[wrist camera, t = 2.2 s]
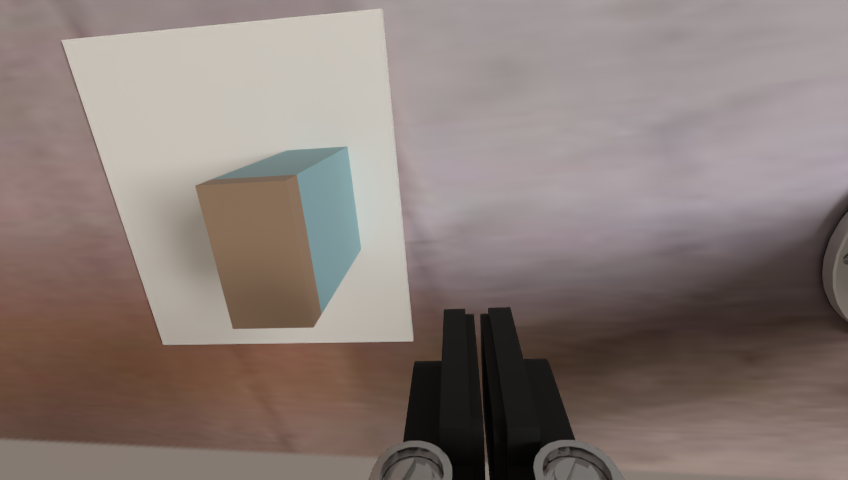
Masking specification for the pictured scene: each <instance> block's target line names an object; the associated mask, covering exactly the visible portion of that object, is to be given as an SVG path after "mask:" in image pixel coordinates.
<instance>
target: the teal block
mask: <svg viewBox="0 0 848 480" xmlns="http://www.w3.org/2000/svg"><path fill="white" fill-rule="evenodd" d="M195 187H196V191H197V195H198V199H199V202H200V206H201V210H202V214H203V218H204V221H205V225H206V229H207V233H208V237H209V240H210V244H211V248H212V252H213V256H214V259H215V263H216V267H217V271H218V275H219V278H220V282H221V286H222V290H223V294H224V297H225V301H226V305H227V309H228V312H229V316H230V320H231V324H232V328H233V329H263V328H314V326H315V324H316V323H317V321H318V320H319V318H320V316H321V315H322V313H323V311H324V310H325V308H326V306H327V305H328V303H329V301H330V300H331V298H332V296H333V295H334V293H335V292H336V290H337V288H338V287H339V285H340V283H341V282H342V280H343V278H344V277H345V275H346V273H347V272H348V270H349V268H350V267H351V265H352V264H353V262H354V260H355V259H356V257H357V255H358V254H359V252H360V250H361V244H360V236H359V229H358V221H357V214H356V206H355V199H354V191H353V184H352V176H351V169H350V161H349V154H348V146H346V147H331V148H315V149H300V150H286V151H284V152H281V153H279V154H276V155H273V156H271V157H268V158H266V159H263V160H260V161H258V162H255V163H253V164H250V165H247V166H245V167H242V168H240V169H237V170H234V171H232V172H229V173H227V174H224V175H221V176H219V177H216V178H214V179H211V180H208V181H206V182H203V183H201V184H198V185H195Z"/></svg>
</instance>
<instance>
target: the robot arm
mask: <svg viewBox="0 0 848 480" xmlns="http://www.w3.org/2000/svg"><path fill="white" fill-rule="evenodd" d="M822 277H823V284H824V290H825V293H826V295H827V297H828V300H829V302H830V304H831V305H832V307H833V308H834V309H835V310H836V312H837V313H838V314H839V315H840V316H841V317H842V318H843V319H845V320H846V321H847V322H848V212H847V213H846V214H845V216H844V217H843V218H842V219H841V221H840V222H839V224H838V226H837V227H836V229H835V231H834V233H833V235H832V237H831V238H830V240H829V243H828V246H827V249H826V253H825V256H824V261H823V271H822ZM480 324H481V356H482V388H483V410H484V422H485V433H486V444H487V455H488V465H489V476H490V480H625V479H624V477H623V476H622V474H621V472H620V470H619V469H618V467H617V466H616V465H615V464H614V462H613V461H612V460H611V459H610V457H608V456H607V455H606V454H604V453H603V452H602V451H601V450H599V449H598V448H596V447H593V446H591V445H589V444H587V443H584V442H580V441H575V438H574V435H573V432H572V429H571V426H570V423H569V420H568V417H567V414H566V412H565V409H564V406H563V403H562V400H561V397H560V394H559V391H558V388H557V385H556V382H555V379H554V376H553V373H552V370H551V367H550V365H549V362H548V360H547V359H523V356H522V352H521V348H520V344H519V340H518V336H517V332H516V328H515V325H514V321H513V317H512V313H511V309H510V307H506V308H488V314H480ZM369 480H485V455H484V429H483V415H482V403H481V392H480V381H479V369H478V358H477V346H476V335H475V324H474V314H465V309H444V322H443V347H442V361H415V363H414V368H413V375H412V383H411V390H410V397H409V404H408V411H407V418H406V426H405V433H404V440H403V443H399V444H396V445H395V446H393V447H391V448H389V449H387V450H386V451H385V452H384V453H383V454H382V455H381V456H380V457H379V458H378V460H377V462H376V463H375V465H374V467H373V469H372V472H371V475H370V477H369Z"/></svg>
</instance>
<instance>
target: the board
mask: <svg viewBox="0 0 848 480" xmlns="http://www.w3.org/2000/svg"><path fill="white" fill-rule="evenodd" d="M62 43H63V46H64V49H65V52H66V55H67V58H68V61H69V64H70V67H71V70H72V73H73V76H74V79H75V82H76V85H77V88H78V91H79V94H80V97H81V100H82V103H83V106H84V109H85V112H86V115H87V118H88V121H89V124H90V127H91V130H92V133H93V136H94V139H95V142H96V145H97V148H98V151H99V154H100V157H101V160H102V163H103V166H104V169H105V172H106V175H107V178H108V181H109V184H110V187H111V190H112V193H113V196H114V199H115V202H116V205H117V208H118V211H119V214H120V217H121V220H122V223H123V226H124V229H125V232H126V235H127V238H128V241H129V244H130V247H131V250H132V253H133V256H134V259H135V262H136V265H137V268H138V271H139V274H140V277H141V280H142V283H143V286H144V289H145V292H146V295H147V298H148V301H149V304H150V307H151V310H152V313H153V316H154V319H155V322H156V325H157V328H158V331H159V334H160V337H161V340H162V343H163V345H197V344H267V343H336V342H406V341H413V340H414V336H413V325H412V314H411V304H410V293H409V283H408V272H407V262H406V251H405V241H404V230H403V220H402V209H401V199H400V188H399V177H398V167H397V156H396V146H395V135H394V125H393V114H392V104H391V93H390V83H389V72H388V62H387V51H386V40H385V30H384V19H383V10H382V9H374V10H363V11H353V12H343V13H333V14H323V15H313V16H302V17H292V18H282V19H272V20H262V21H251V22H241V23H231V24H221V25H211V26H201V27H190V28H180V29H170V30H160V31H150V32H139V33H129V34H119V35H109V36H99V37H89V38H78V39H68V40H62ZM346 146H348V154H349V161H350V169H351V176H352V184H353V191H354V199H355V206H356V214H357V221H358V229H359V236H360V244H361V250H360V252H359V254H358V255H357V257H356V259H355V260H354V262H353V264H352V265H351V267H350V268H349V270H348V272H347V273H346V275H345V277H344V278H343V280H342V282H341V283H340V285H339V287H338V288H337V290H336V292H335V293H334V295H333V296H332V298H331V300H330V301H329V303H328V305H327V306H326V308H325V310H324V311H323V313H322V315H321V316H320V318H319V320H318V321H317V323H316V324H315V326H314V328H263V329H233V328H232V324H231V320H230V316H229V312H228V309H227V305H226V301H225V297H224V294H223V290H222V286H221V282H220V278H219V275H218V271H217V267H216V263H215V259H214V256H213V252H212V248H211V244H210V240H209V237H208V233H207V229H206V225H205V221H204V218H203V214H202V210H201V206H200V202H199V199H198V195H197V191H196V187H195V185H198V184H201V183H203V182H206V181H208V180H211V179H214V178H216V177H219V176H221V175H224V174H227V173H229V172H232V171H234V170H237V169H240V168H242V167H245V166H247V165H250V164H253V163H255V162H258V161H260V160H263V159H266V158H268V157H271V156H273V155H276V154H279V153H281V152H284V151H286V150H300V149H315V148H331V147H346Z"/></svg>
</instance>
